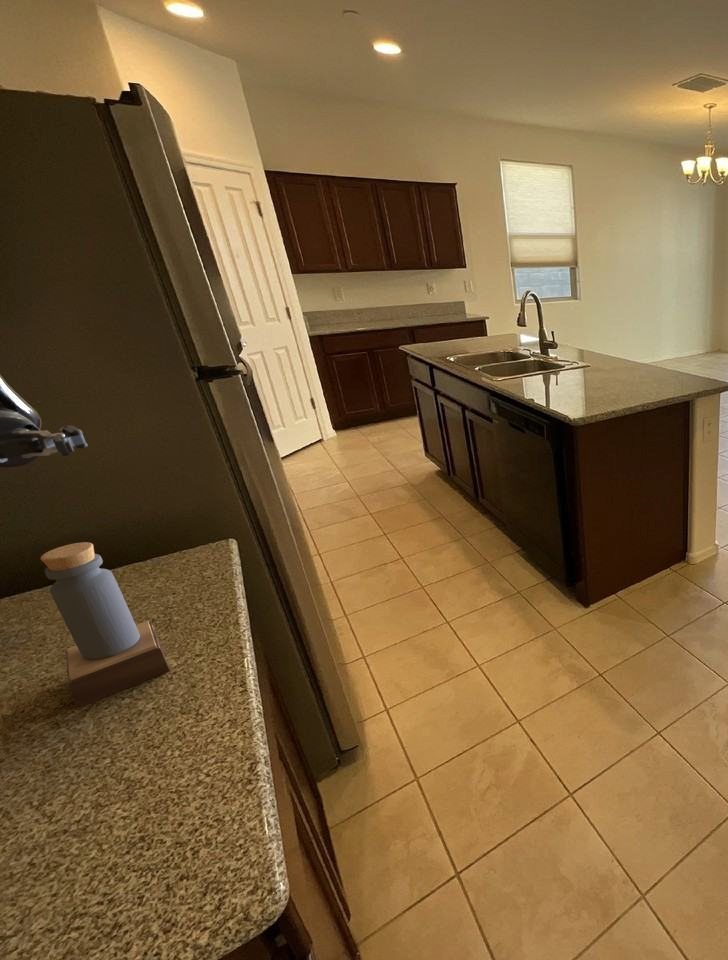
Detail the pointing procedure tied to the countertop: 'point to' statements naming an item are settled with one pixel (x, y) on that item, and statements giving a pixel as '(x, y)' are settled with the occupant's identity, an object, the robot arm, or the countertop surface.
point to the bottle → (90, 601)
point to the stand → (116, 668)
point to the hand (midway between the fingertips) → (17, 457)
